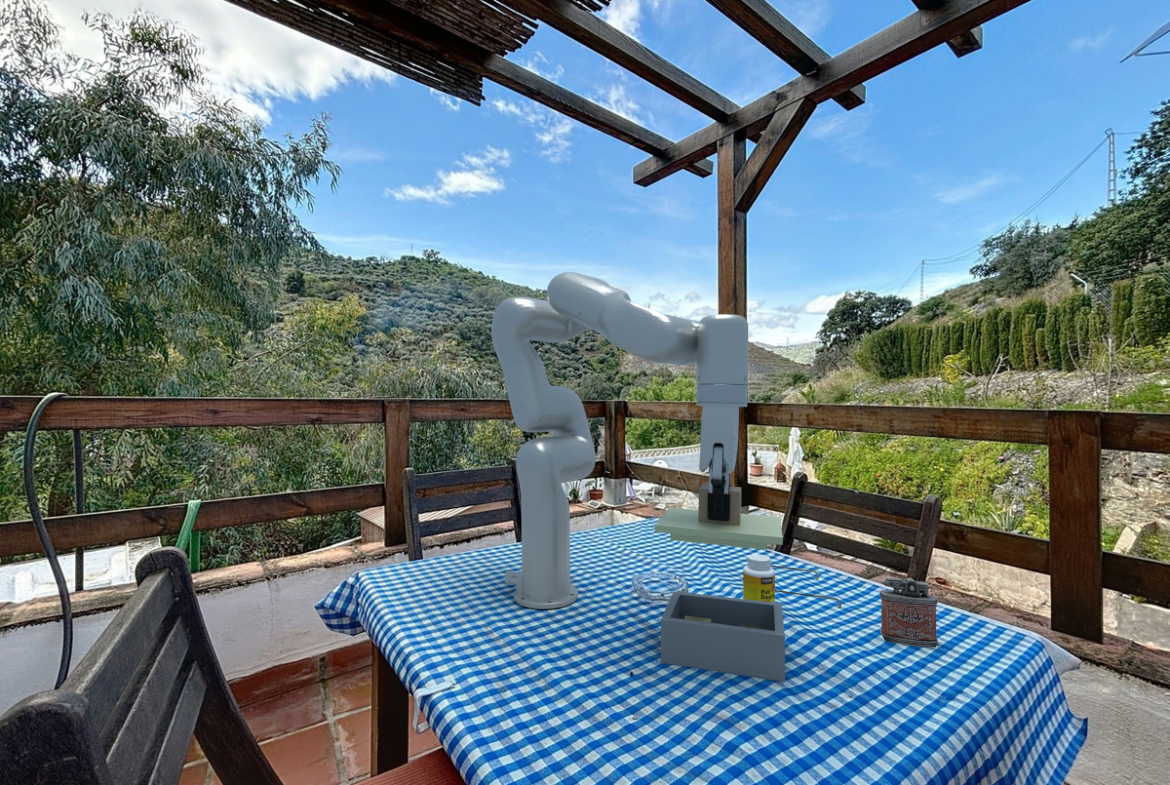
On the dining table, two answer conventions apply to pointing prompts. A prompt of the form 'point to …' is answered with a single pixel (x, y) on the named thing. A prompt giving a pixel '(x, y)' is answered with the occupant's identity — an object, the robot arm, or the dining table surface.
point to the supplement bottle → (759, 579)
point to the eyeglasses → (806, 594)
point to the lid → (721, 525)
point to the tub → (724, 635)
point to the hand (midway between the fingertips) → (719, 515)
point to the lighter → (908, 613)
